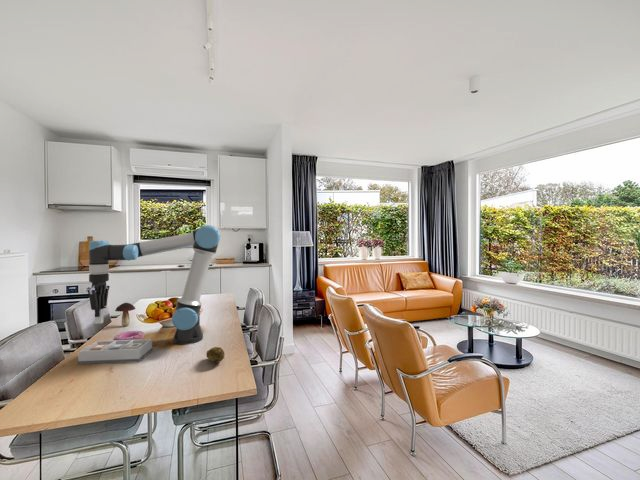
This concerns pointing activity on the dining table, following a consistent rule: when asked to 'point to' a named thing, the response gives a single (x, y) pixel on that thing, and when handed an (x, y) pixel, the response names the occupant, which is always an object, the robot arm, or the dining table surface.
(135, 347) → the key ivory
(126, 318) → the decorative mushroom
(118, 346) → the key slate
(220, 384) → the dining table surface
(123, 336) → the donut
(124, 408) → the dining table surface
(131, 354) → the keypad board
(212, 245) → the robot arm
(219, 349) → the green bumpy oval piece
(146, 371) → the dining table surface
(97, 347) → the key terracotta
